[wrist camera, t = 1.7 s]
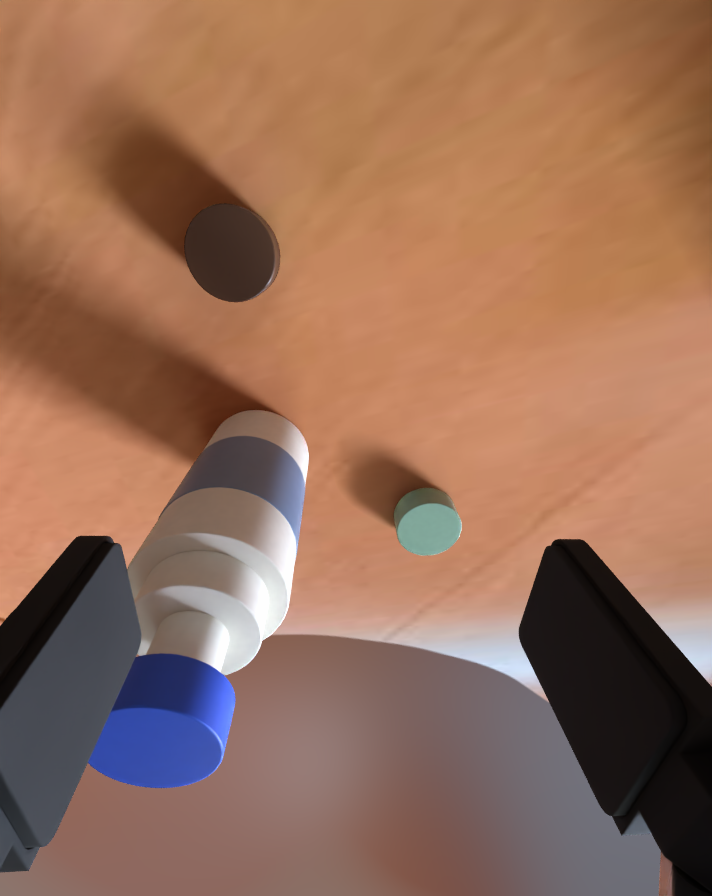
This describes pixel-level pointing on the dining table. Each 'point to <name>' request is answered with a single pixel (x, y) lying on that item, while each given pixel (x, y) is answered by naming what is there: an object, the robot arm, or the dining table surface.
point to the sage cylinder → (426, 521)
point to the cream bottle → (207, 601)
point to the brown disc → (231, 252)
